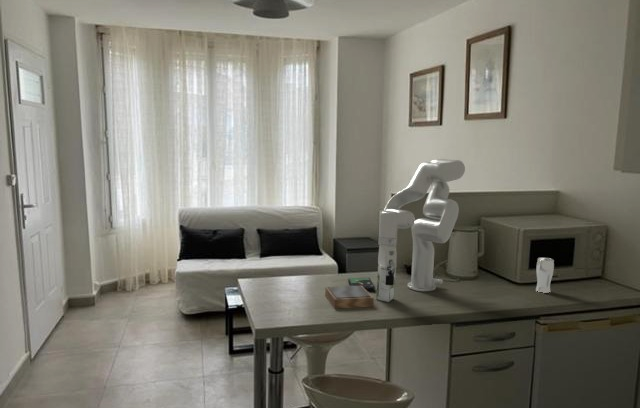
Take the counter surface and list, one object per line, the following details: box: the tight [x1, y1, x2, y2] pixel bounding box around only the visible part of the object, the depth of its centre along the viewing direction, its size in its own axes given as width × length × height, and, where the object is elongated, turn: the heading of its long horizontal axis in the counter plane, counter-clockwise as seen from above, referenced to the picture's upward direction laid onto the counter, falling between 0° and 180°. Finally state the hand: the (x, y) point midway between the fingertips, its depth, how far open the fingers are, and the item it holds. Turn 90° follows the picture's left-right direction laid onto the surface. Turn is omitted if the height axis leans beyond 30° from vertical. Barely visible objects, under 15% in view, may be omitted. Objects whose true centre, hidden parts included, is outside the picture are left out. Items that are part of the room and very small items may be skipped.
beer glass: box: [535, 257, 555, 294], centre depth 212 cm, size 7×7×15 cm
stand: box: [324, 285, 375, 309], centre depth 193 cm, size 16×16×4 cm
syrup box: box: [376, 265, 397, 303], centre depth 196 cm, size 6×6×14 cm
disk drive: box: [347, 277, 376, 293], centre depth 213 cm, size 10×3×15 cm
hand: (385, 281), depth 195 cm, fingers open, 9 cm apart
